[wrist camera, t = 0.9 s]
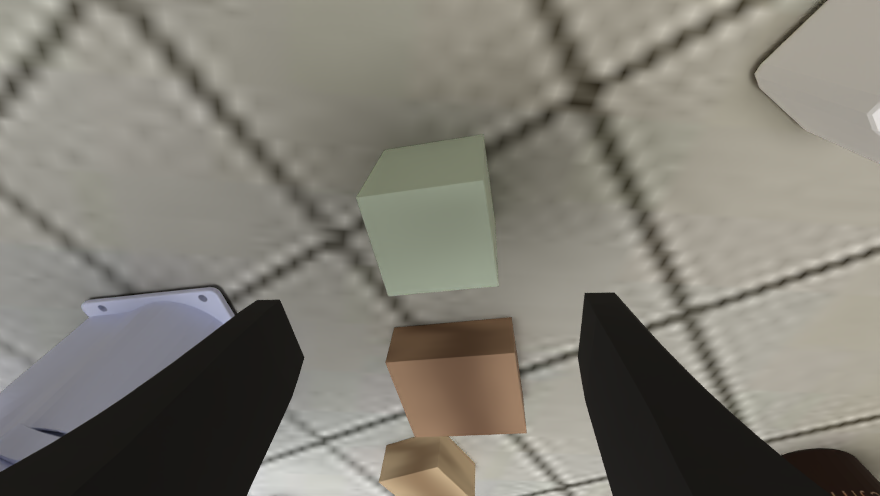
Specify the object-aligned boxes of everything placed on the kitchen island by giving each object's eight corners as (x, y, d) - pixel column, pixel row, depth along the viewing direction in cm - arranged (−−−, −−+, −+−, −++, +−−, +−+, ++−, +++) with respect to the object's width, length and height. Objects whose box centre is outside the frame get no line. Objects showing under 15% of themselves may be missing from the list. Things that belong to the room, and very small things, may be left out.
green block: (407, 233, 21) (388, 296, 17) (384, 149, 18) (355, 197, 14) (495, 223, 20) (498, 286, 16) (483, 133, 18) (483, 179, 13)
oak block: (422, 474, 34) (417, 513, 31) (387, 442, 32) (378, 482, 29) (475, 461, 32) (474, 501, 29) (441, 426, 30) (437, 467, 27)
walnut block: (420, 397, 28) (415, 437, 26) (395, 323, 25) (385, 362, 22) (522, 391, 27) (526, 433, 25) (511, 313, 23) (514, 352, 21)
